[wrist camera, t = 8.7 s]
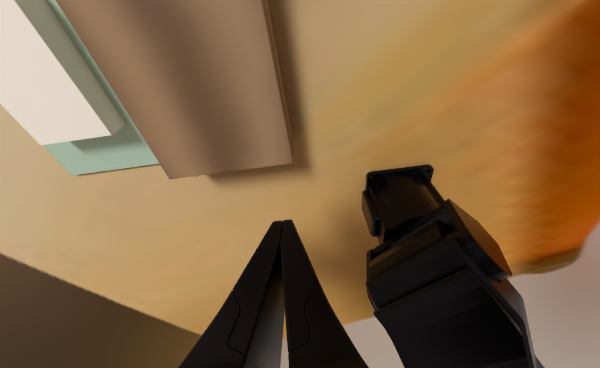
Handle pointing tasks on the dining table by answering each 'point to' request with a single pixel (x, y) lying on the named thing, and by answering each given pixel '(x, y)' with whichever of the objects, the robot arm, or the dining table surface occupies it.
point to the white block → (49, 78)
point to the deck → (193, 79)
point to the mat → (108, 149)
